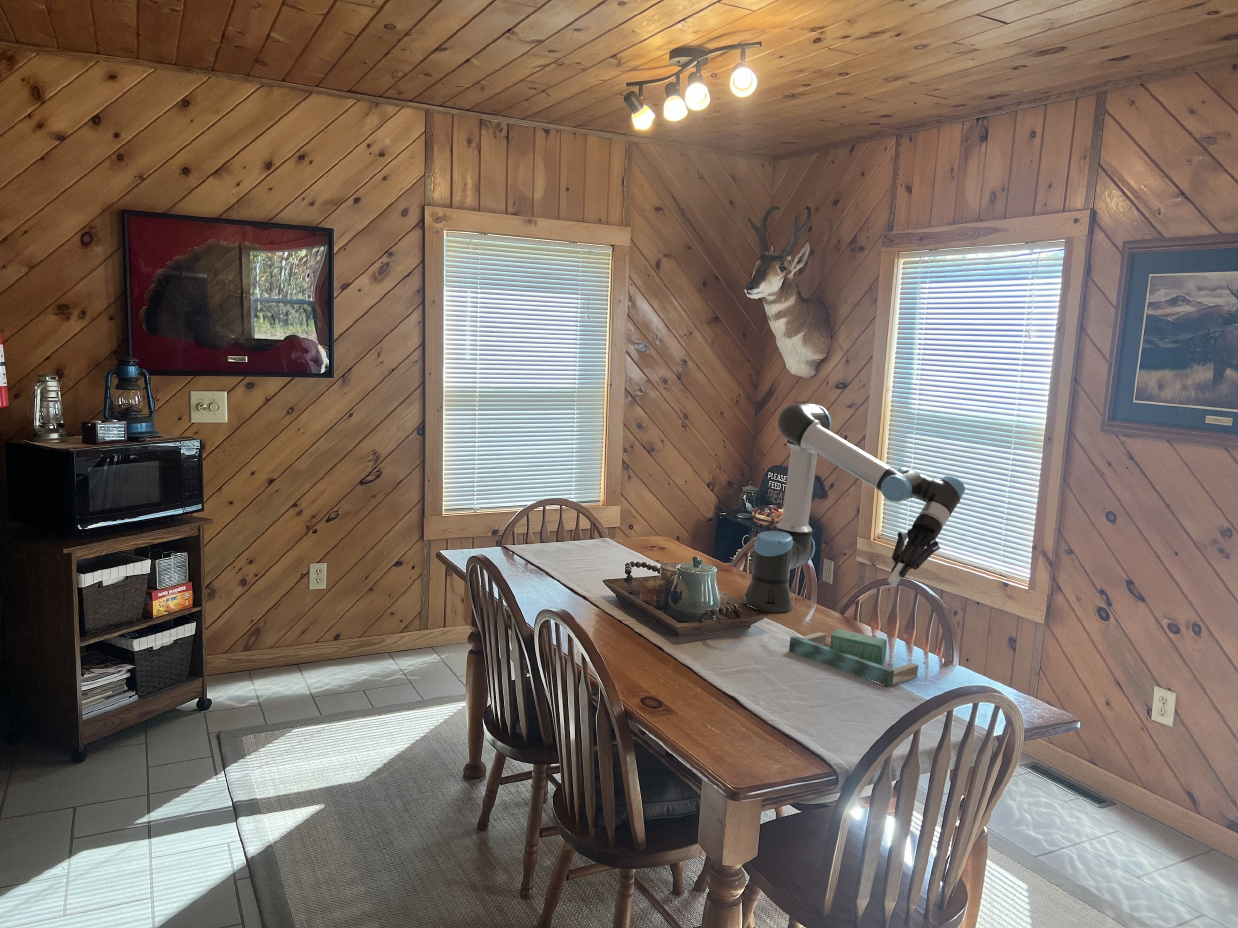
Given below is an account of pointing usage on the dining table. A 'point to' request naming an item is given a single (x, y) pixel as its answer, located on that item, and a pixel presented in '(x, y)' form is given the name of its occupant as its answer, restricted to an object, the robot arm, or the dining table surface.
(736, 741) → the dining table surface
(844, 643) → the box
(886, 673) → the bay
